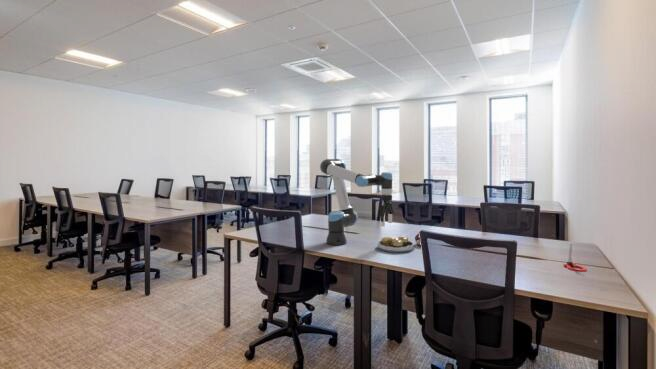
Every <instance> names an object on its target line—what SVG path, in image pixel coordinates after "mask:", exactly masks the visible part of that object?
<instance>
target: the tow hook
mask: <svg viewBox="0 0 656 369" xmlns="http://www.w3.org/2000/svg"><path fill="white" fill-rule="evenodd" d="M572 254H573V244H572V243H569V250H568V257H567V261H566V263H565V264H562V265H563V267H564V268H567V269H568V270H571V271H575V272H587V268H586V267H585V266H582V265H578V264H576V263H574V262H573V261H572V260H573V258H572Z"/></svg>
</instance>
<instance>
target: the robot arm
mask: <svg viewBox="0 0 656 369" xmlns="http://www.w3.org/2000/svg"><path fill="white" fill-rule="evenodd" d="M319 167H320V168H319V169H320V171H321V173H322V174H324V175H327V176H329V177H330V178H331V179H332V182H333V187H334V190H335V195H336V200H337V203H338V207H339V209H338V210H335V211H331V212H329V213H328V215H327V222H328V223H327V225H328V229H327V230H328V234H327V236H326V240H325V241H326V242H325V243H326V245H328V246H343V245H347V243H348V240H347V237H346V235H345V228H348V227H352V226H354V225H356V224H357V222H358V219H359V216H358V213H357V212H356V211H355V210H354V207H353V206H351V203H350V199H349V195H348V191H347V187H346V183H345V182H346V181H348V182H350V183H353V184H355V185H356V186H357V187H359V188H364V187H372V186H373V187H374V186H377V187H378V186H380V189H381V190H380V194H381V195H380V197H381V198H380V199H381V201H383V202H380V208H379V214H378V217H380V227H385V224H386V222H385V221H386V219H385V215H386V212H388V215H387V220H388V221H387V223H388V224H393V215H394V213H395V212H394V208H393V201H392V200H393V173H392V172H391V171H390V172H389V171H388V172H387V171H386V172H384V171H383V172H381V174H367V175H364V174H362V173H359V172H356V171H353V170H350V169H347V168H346V167H347V165H346V162H345V161H344V160H342V159H339V158H329V159H328V158H326V159H324V160H322V161H321V163H320V165H319Z"/></svg>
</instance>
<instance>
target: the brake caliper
mask: <svg viewBox="0 0 656 369" xmlns="http://www.w3.org/2000/svg"><path fill="white" fill-rule="evenodd" d="M419 233H420V232H418V233H417V234H416V235H415V236H414V240H415V243H414V246H415V247H419V246H420V237H419ZM420 247H421V246H420Z"/></svg>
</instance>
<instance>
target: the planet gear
mask: <svg viewBox="0 0 656 369" xmlns="http://www.w3.org/2000/svg"><path fill="white" fill-rule="evenodd" d="M386 237H388V239H386ZM393 239H394V238H393V237H391V236H382V238H381V240H382V245H384V246H392V241H393Z"/></svg>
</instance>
